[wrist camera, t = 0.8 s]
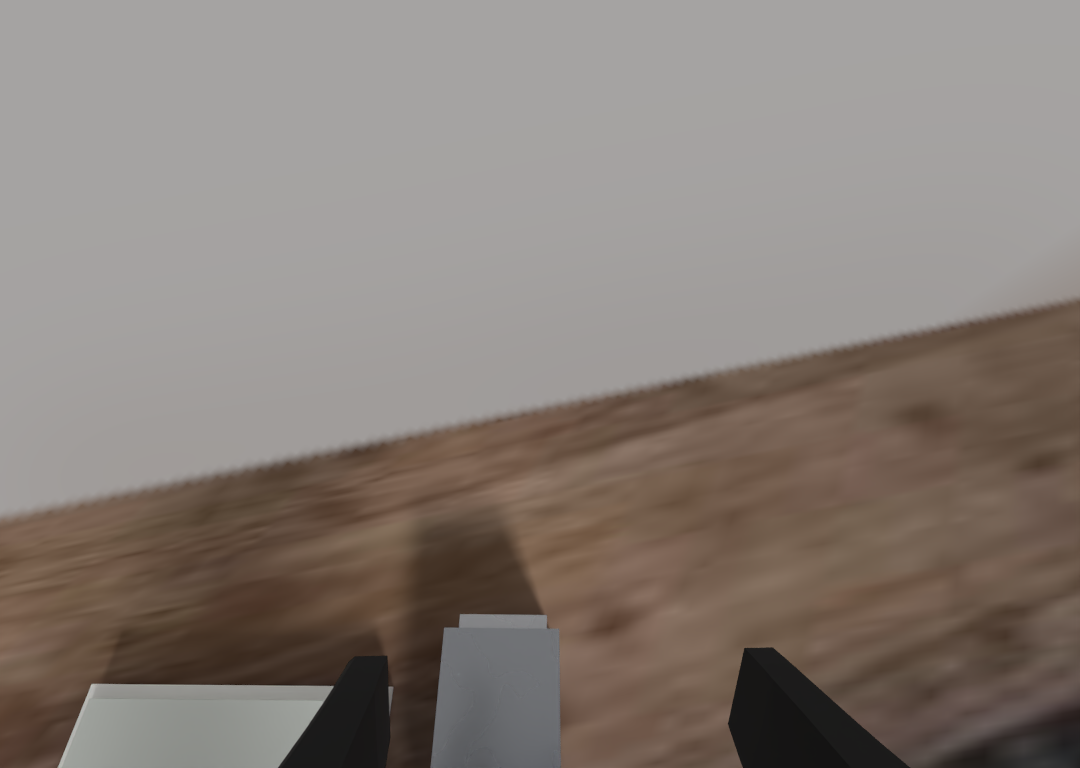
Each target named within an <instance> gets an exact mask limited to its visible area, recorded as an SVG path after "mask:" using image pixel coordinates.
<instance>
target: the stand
mask: <svg viewBox="0 0 1080 768" xmlns="http://www.w3.org/2000/svg"><path fill="white" fill-rule="evenodd" d="M333 687H334V686H275V685H166V684H92V685H91V687H90V690H89V692H88V695H87V697H86V699H85V702H84V704H83V707H82V709H81V712H80V714H79V717H78V719H77V722H76V724H75V727H74V729H73V732H72V734H71V737H70V739H69V741H68V744H67V746H66V749H65V751H64V754H63V756H62V759H61V761H60V764H59V766H58V768H278V767H279V766H280V764H281V763H282V761H283V760H284V759H285V757H286V756H287V754H288V753H289V752H290V750H291V749H292V747H293V746H294V745H295V743H296V742H297V740H298V739H299V738H300V736H301V735H302V733H303V732H304V731H305V729H306V728H307V726H308V725H309V723H310V722H311V720H312V719H313V717H314V716H315V714H316V713H317V711H318V710H319V708H320V707H321V706H322V704H323V702H324V701H325V699H326V698H327V696H328V695H329V693H330V692H331V690H332V689H333ZM388 689H389V716H390V709H391V702H392V694H393V687H388Z"/></svg>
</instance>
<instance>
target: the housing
mask: <svg viewBox="0 0 1080 768" xmlns="http://www.w3.org/2000/svg"><path fill="white" fill-rule="evenodd" d="M431 768H561V759H560V665H559V629H547V615H499V614H460V620H459V628H444V635H443V645H442V655H441V666H440V676H439V686H438V697H437V707H436V717H435V728H434V738H433V748H432V759H431Z"/></svg>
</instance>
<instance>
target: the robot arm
mask: <svg viewBox="0 0 1080 768" xmlns="http://www.w3.org/2000/svg"><path fill="white" fill-rule="evenodd" d="M728 725H729V728H730V731H731V734H732V737H733V740H734V743H735V746H736V749H737V752H738V755H739V758H740V761H741V764H742V766H743V768H910V767H909V766H907V765H906V764H905V763H904V762H903V761H901V760H900V759H899V758H898V757H897V756H895V755H894V754H893V753H892V752H891V751H889V750H888V749H887V748H886V747H885V746H884V745H882V744H881V743H880V742H879V741H878V740H877V739H875V738H874V737H873V736H872V735H871V734H870V733H869V732H867V731H866V730H865V729H864V728H863V727H862V726H861V725H859V724H858V723H857V722H856V721H855V720H854V719H853V718H851V717H850V716H849V715H848V714H847V713H846V712H845V711H844V710H842V709H841V708H840V707H839V706H838V705H837V704H836V703H835V702H833V701H832V700H831V699H830V698H829V697H828V696H827V695H826V694H825V693H823V692H822V691H821V690H820V689H819V688H818V687H817V686H816V685H815V684H813V683H812V682H811V681H810V680H809V679H808V678H807V677H806V676H805V675H803V674H802V673H801V672H800V671H799V670H798V669H797V668H796V667H794V666H793V665H792V664H791V663H790V662H789V661H788V660H787V659H785V658H784V657H783V656H782V655H781V654H780V653H778V652H777V651H776V650H775V649H774V648H744V653H743V657H742V662H741V667H740V671H739V676H738V681H737V685H736V690H735V694H734V699H733V704H732V708H731V713H730V718H729V722H728ZM389 741H390V716H389V689H388V662H387V656H357V657H354V658H353V659H351V660H350V661H349V662H348V664H347V666H346V667H345V669H344V671H343V672H342V674H341V676H340V677H339V679H338V681H337V682H336V684H335V685H334V687H333V689H332V690H331V692H330V693H329V695H328V696H327V698H326V699H325V701H324V702H323V704H322V706H321V707H320V708H319V710H318V711H317V713H316V714H315V716H314V717H313V719H312V720H311V722H310V723H309V725H308V726H307V728H306V729H305V731H304V732H303V733H302V735H301V736H300V738H299V739H298V740H297V742H296V743H295V745H294V746H293V747H292V749H291V750H290V752H289V753H288V754H287V756H286V757H285V759H284V760H283V761H282V763H281V764H280V766H279V767H278V768H385V766H386V760H387V754H388V747H389Z"/></svg>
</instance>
